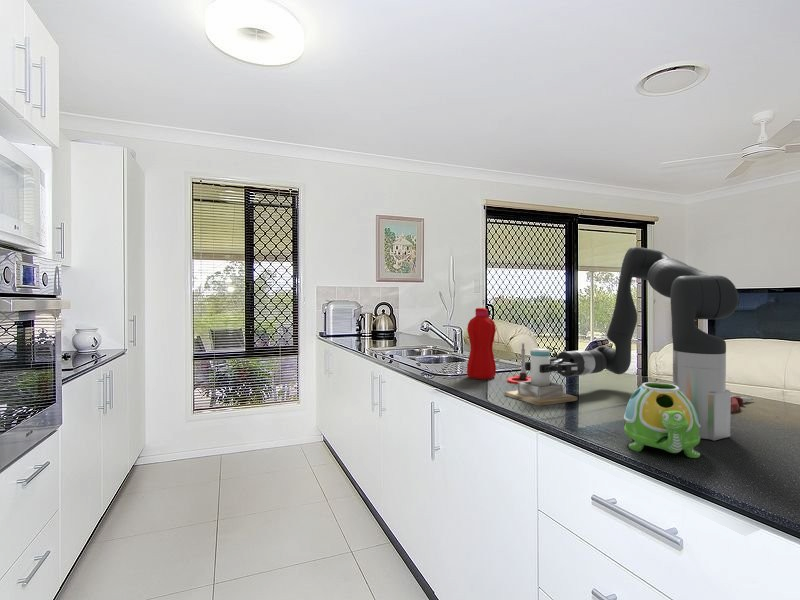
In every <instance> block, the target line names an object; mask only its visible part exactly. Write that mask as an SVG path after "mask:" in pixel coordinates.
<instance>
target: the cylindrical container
mask: <svg viewBox="0 0 800 600" xmlns="http://www.w3.org/2000/svg"><path fill="white" fill-rule="evenodd" d="M529 354H530V362H531V370H530V377H531V385H533V386H537V387H545V386H550V376H551V375H550V373H551V372H547V373H540V365H543V364H550V358H551V356H550V355H551V351H550V349H549V348H539V347H536V348H535V347H534V348H530V350H529Z"/></svg>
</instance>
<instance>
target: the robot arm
mask: <svg viewBox="0 0 800 600" xmlns="http://www.w3.org/2000/svg"><path fill="white" fill-rule="evenodd" d="M619 274H620V275H619V278H618V287H617V292H616V299H615V305H614V308H613V313H612V317H611V320H610V324H609V326H608V330H607V332H606V337H607V339H608V340H610V342H612V343H613V344H614V348H613V347H611V346H608V345H599V346H597V347H595V348H593V349H592V350H591V349H590V350H579V349H578V350H570V351H569V350H568V351H567V350H565V351H561V352H559V353H558V354H557V355H556V357H550V364H543V365H540V373H547V372H550V373H552V374H559V375H560V376H562V377H564V378H570V377H571V378H572V377H578V376H586V375H589V374H597V373H601V372H602V371H603V370H607V371H609V372H611V373H613V374H615V375H623V374H624V373H626V372H627V371H628V370H629V368H630V367H631V362H632V339H633V336H634V333H635V329H636V326H637V323H638V313H637V311H638V310H637V308H636V304H635V302H634V299H633V294H632V288H631V286H632V281H633V280H632V279H633V278H635V279H640V280H646V281H647V282H648V284H649V285H650V287H651V288H652V289H653V290H654V291H656V292H657V293H658V294H660V295H662V296H664V297H666V298H669V299H670V311H671V312H670V313H671V337H672V384H673V385H676V386H678V387H679V389H680V391H681V392H682V393H683V394H684V395H685V396H686V397H687V398H688V399H689V400H690V402H691V403H692V404H693V406H694V408H695V411H696V413H697V416H698V421H699V424H700V428H699V436H700V439H705V440H709V441H710V440H711V441H717V440H721V439H726V438H729V437H731V414H732V412H731V396H732V394H731V390H730V389H726V388H727V387H726V386H727V383H726V382H727V379H726V378H727V374H726V373H727V370H726V369H727V343H726V340H725V339H723V338H721V337H719V336H715V335H712V334H709V333H706V332H705V331H703V330H701V329H700V328H699V327H698V326H697V324H696V320H721V319H726V318H728V317H730V316H731V315H732V314H734V312H735V311H736V310H737V308H738V306H739V299H740V298H739V292H738V289H737V287H736V286H735V284H734V283H733V282H732V281H731V280H730V279H729V278H728V277H726V276H723V275H719V274H718V275H717V274H713V273H708V272H705V271H702V270H700V269H698V268H697V267H693V266H691V265H688V264H687V263H685V262H683V261H681V260H678V259H674V258H671V257H669V256H668V255H667V254H666V253H664V252H663V251H661V250H656V249H653V248H652V249H651V248H647V247H646V248H645V247H642V246H641V247H640V246H636V245H635V246H631V247H629V248H628V249H627V250H626V252H625V255H624V256H623V259H622V264H621V268H620V273H619ZM525 369H526V371H531V361H525Z"/></svg>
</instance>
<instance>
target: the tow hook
mask: <svg viewBox="0 0 800 600" xmlns="http://www.w3.org/2000/svg"><path fill="white" fill-rule="evenodd" d="M520 351H521V355H520V356H521V366H520V373H519V374H517V375H516V374H514V375H513V376H510V377H508V378H506V381H507V383H509V384H514V385H518V382H526V381H531V375H528V372H527V370H526V369H525V362H526V349H525V343H523V342H522V343H521V349H520Z"/></svg>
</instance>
